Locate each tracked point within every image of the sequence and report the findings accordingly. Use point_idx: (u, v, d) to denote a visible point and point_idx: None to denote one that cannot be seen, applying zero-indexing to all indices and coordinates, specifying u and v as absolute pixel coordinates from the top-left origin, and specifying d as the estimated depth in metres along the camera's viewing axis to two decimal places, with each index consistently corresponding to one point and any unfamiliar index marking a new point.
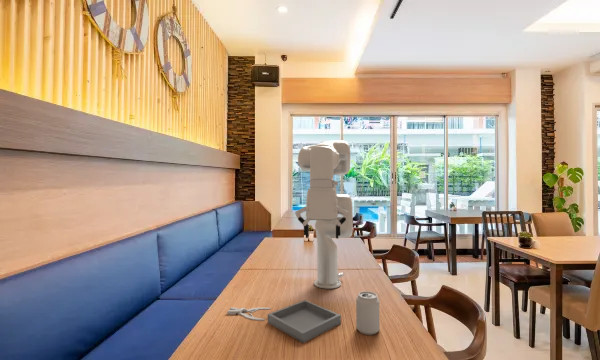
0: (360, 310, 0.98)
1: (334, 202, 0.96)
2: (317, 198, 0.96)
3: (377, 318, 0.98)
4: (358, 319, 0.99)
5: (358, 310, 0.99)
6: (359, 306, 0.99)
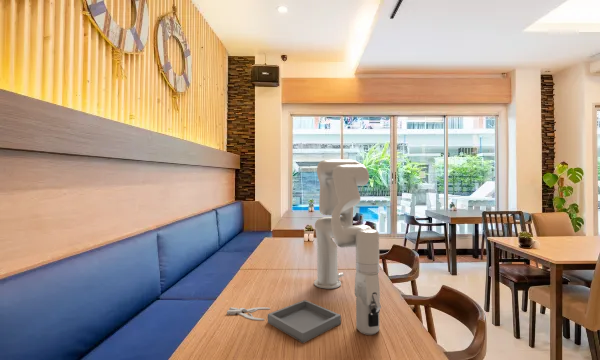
0: (360, 310, 0.98)
1: None
2: None
3: None
4: (358, 319, 0.99)
5: (358, 310, 0.99)
6: (359, 306, 0.99)
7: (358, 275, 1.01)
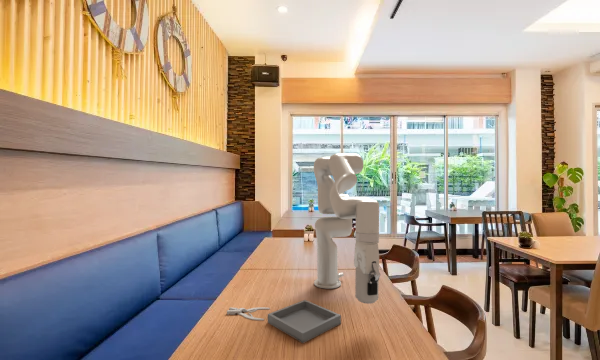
0: (360, 279, 0.99)
1: None
2: None
3: None
4: (357, 288, 1.00)
5: (357, 279, 0.99)
6: (358, 275, 0.99)
7: (358, 245, 1.01)
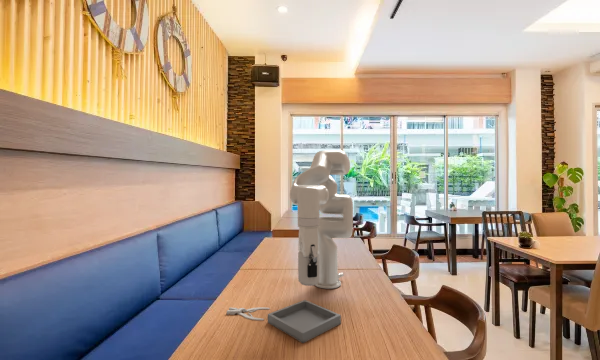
0: (301, 263, 1.03)
1: None
2: None
3: None
4: (299, 271, 1.04)
5: (299, 263, 1.04)
6: (300, 259, 1.03)
7: (300, 230, 1.05)
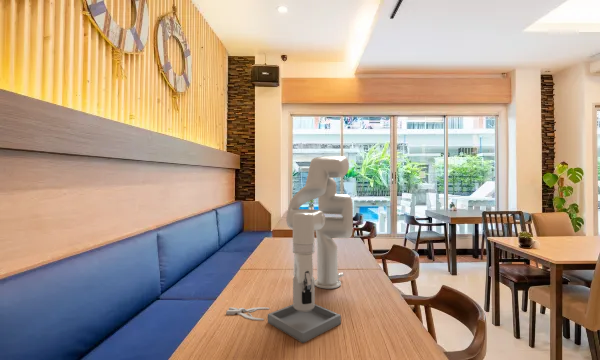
0: (295, 289, 1.03)
1: None
2: None
3: None
4: (294, 297, 1.04)
5: (293, 289, 1.04)
6: (294, 285, 1.04)
7: (295, 256, 1.06)
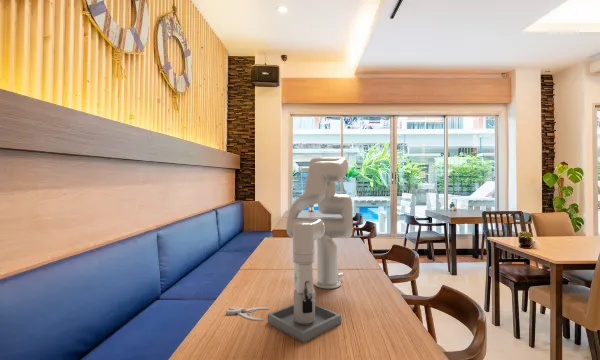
0: (296, 301, 1.04)
1: None
2: None
3: None
4: (294, 310, 1.04)
5: (294, 301, 1.04)
6: (295, 297, 1.04)
7: (295, 265, 1.06)
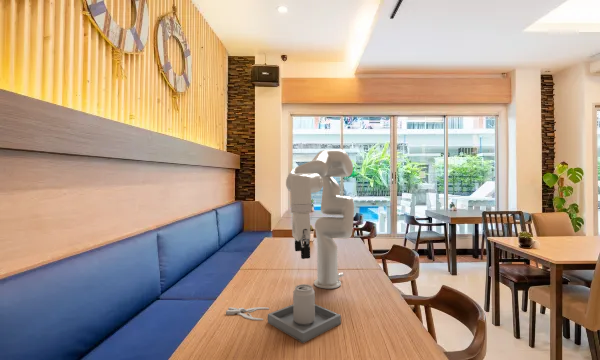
0: (295, 302, 1.03)
1: None
2: None
3: (311, 309, 1.03)
4: (294, 310, 1.04)
5: (294, 302, 1.04)
6: (294, 298, 1.04)
7: (293, 216, 1.12)
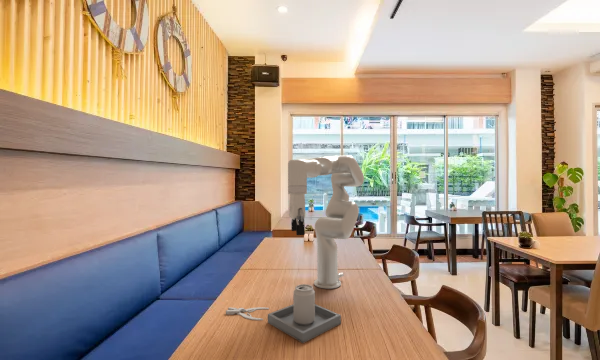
0: (295, 302, 1.03)
1: None
2: None
3: (311, 309, 1.03)
4: (294, 310, 1.04)
5: (294, 302, 1.04)
6: (295, 298, 1.04)
7: (290, 197, 1.23)
